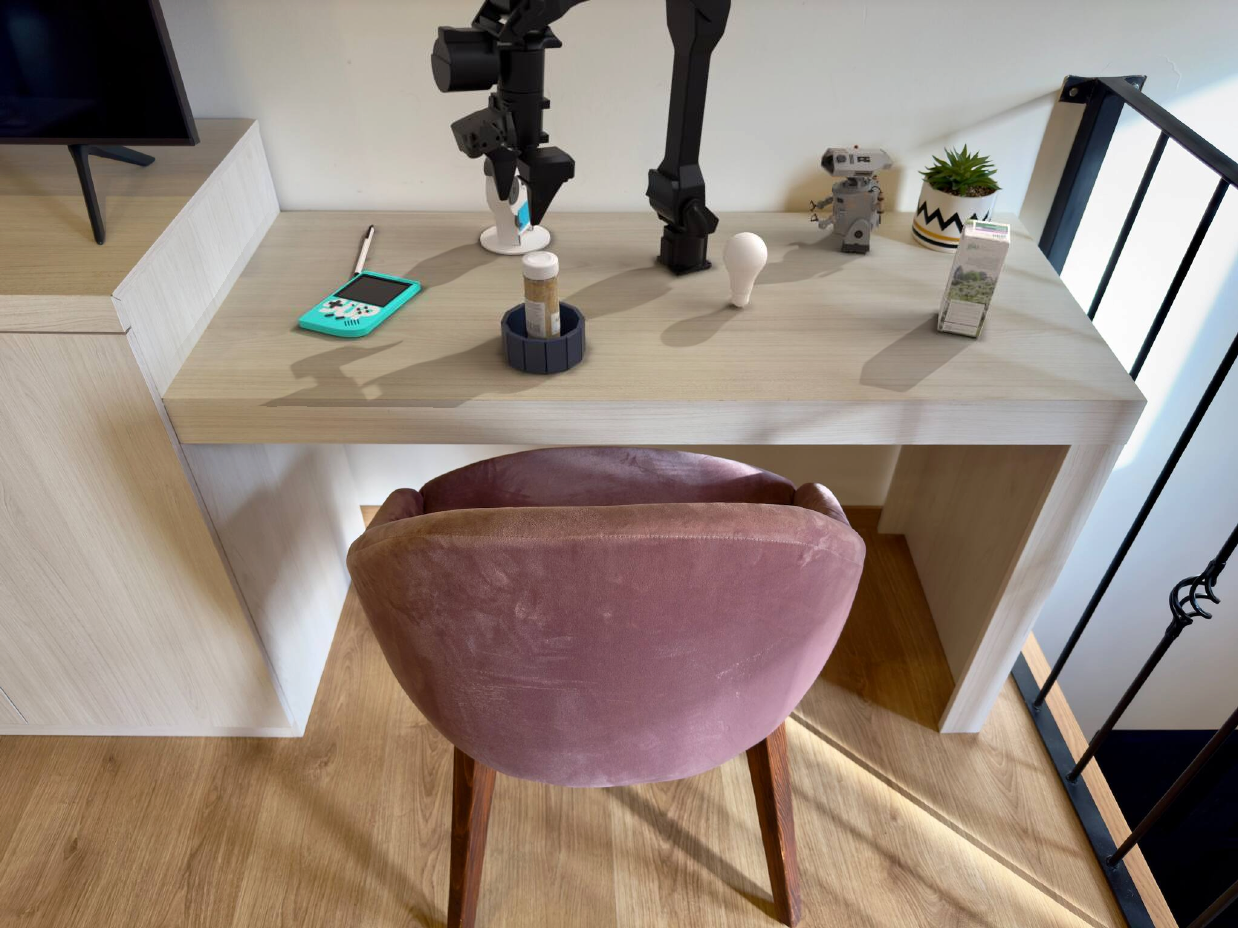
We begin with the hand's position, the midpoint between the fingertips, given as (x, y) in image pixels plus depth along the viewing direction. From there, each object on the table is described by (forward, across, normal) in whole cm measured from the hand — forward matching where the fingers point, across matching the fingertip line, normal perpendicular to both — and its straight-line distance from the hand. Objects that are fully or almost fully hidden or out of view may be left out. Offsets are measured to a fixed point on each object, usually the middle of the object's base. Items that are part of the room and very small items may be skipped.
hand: (518, 212), depth 113 cm
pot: (+15, +12, -2) cm, 19 cm away
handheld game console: (+16, -12, -18) cm, 28 cm away
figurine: (+10, +6, +56) cm, 57 cm away
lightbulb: (+12, +15, +28) cm, 34 cm away
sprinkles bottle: (+15, +12, -2) cm, 19 cm away
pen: (+16, -28, -13) cm, 35 cm away
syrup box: (+10, +35, +51) cm, 63 cm away
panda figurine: (+14, -21, +10) cm, 27 cm away
